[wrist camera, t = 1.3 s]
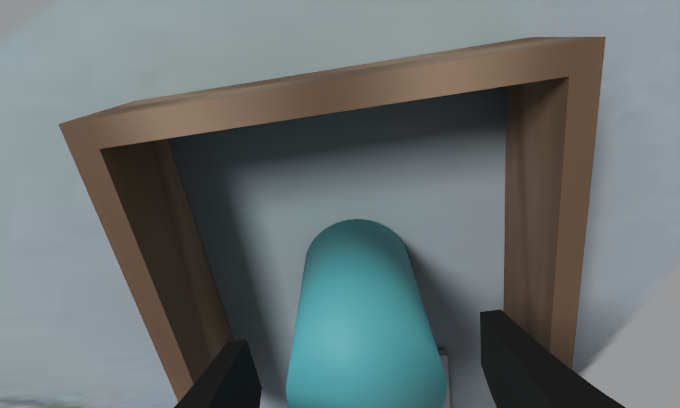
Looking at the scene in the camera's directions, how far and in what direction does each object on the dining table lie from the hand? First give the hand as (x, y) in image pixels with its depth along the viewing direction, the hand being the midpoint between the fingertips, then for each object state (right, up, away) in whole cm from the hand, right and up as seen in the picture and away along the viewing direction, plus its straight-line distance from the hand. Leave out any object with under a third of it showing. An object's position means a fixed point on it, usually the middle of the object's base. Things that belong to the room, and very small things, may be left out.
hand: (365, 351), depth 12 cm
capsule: (0, +2, +5) cm, 5 cm away
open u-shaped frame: (0, +3, +4) cm, 5 cm away
